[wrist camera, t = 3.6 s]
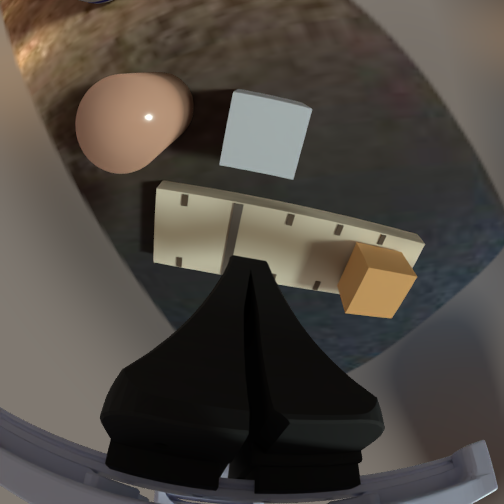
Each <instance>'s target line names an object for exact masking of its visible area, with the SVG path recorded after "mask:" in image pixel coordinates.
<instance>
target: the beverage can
mask: <svg viewBox="0 0 504 504" xmlns="http://www.w3.org/2000/svg"><path fill="white" fill-rule="evenodd" d="M80 1H84V2H88V3H95V4H100V3H106V2H109V1H112V0H80Z"/></svg>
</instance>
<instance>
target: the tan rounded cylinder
mask: <svg viewBox="0 0 504 504" xmlns="http://www.w3.org/2000/svg"><path fill="white" fill-rule="evenodd" d="M193 112H194V102H193V97H192V94H191V92H190V90H189V88H188V87H187V85H186V84H185V83H184V82H183V81H182V80H181V79H180V78H178V77H176V76H174V75H172V74H169V73H164V72H148V73H128V74H116V75H111V76H108V77H106V78H103V79H102V80H100V81H98V82H97V83H95V84H94V85H93V86H92V87H91V88H90V89H89V90H88V91H87V92H86V94H85V95H84V97H83V98H82V100H81V102H80V104H79V107H78V110H77V115H76V123H75V124H76V135H77V139H78V142H79V145H80V147H81V149H82V151H83V153H84V154H85V155H86V157H87V158H88V159H89V160H90V161H91V162H92V163H93V164H94V165H96V166H97V167H99V168H101V169H103V170H105V171H108V172H111V173H118V174H124V173H131V172H134V171H137V170H139V169H141V168H143V167H145V166H146V165H148V164H149V163H150V162H151V161H152V160H153V159H154V158H155V157H157V156H158V155H159V154H160V153H161V152H162V151H163V150H164V149H166V148H167V147H168V146H169V145H170V144H171V143H172V142H174V141H175V140H176V139H177V138H178V137H179V136H181V135H182V134H183V133H184V132H185V130H186V129H187V128H188V126H189V124H190V122H191V120H192V117H193Z"/></svg>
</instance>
